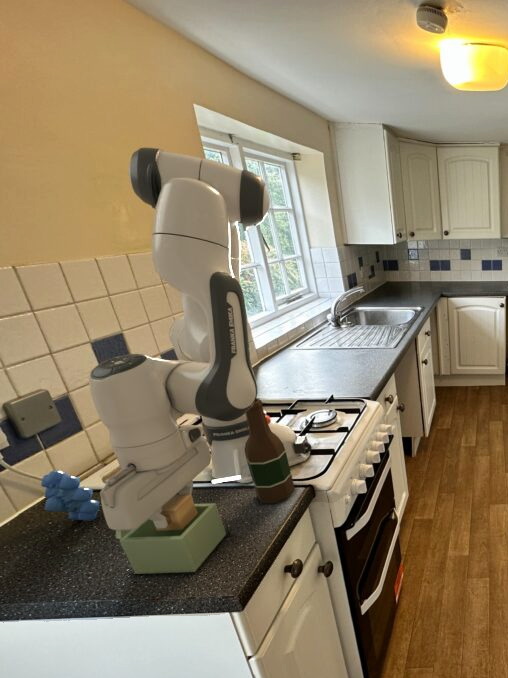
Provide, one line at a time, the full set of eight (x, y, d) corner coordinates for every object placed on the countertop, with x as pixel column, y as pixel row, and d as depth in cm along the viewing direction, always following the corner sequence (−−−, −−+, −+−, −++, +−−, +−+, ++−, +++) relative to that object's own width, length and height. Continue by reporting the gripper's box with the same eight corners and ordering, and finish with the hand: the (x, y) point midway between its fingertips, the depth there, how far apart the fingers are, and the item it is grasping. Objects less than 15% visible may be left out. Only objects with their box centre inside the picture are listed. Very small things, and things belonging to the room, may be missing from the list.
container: (226, 534, 84) (215, 503, 81) (194, 572, 75) (181, 539, 72) (173, 535, 83) (160, 504, 80) (134, 574, 74) (119, 540, 71)
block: (198, 513, 78) (191, 494, 76) (181, 530, 74) (174, 510, 72) (174, 514, 78) (166, 495, 76) (156, 530, 74) (148, 510, 72)
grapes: (36, 528, 85) (9, 480, 81) (75, 507, 91) (52, 461, 87) (78, 537, 83) (53, 488, 78) (115, 515, 89) (93, 468, 84)
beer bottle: (279, 480, 100) (255, 391, 91) (302, 488, 98) (280, 396, 88) (249, 499, 94) (221, 405, 84) (274, 508, 91) (247, 411, 82)
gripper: (119, 485, 61) (150, 557, 66) (208, 422, 80) (226, 481, 85) (75, 487, 60) (109, 558, 66) (174, 422, 79) (195, 482, 85)
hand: (176, 514), depth 75 cm, fingers closed on block, 4 cm apart
